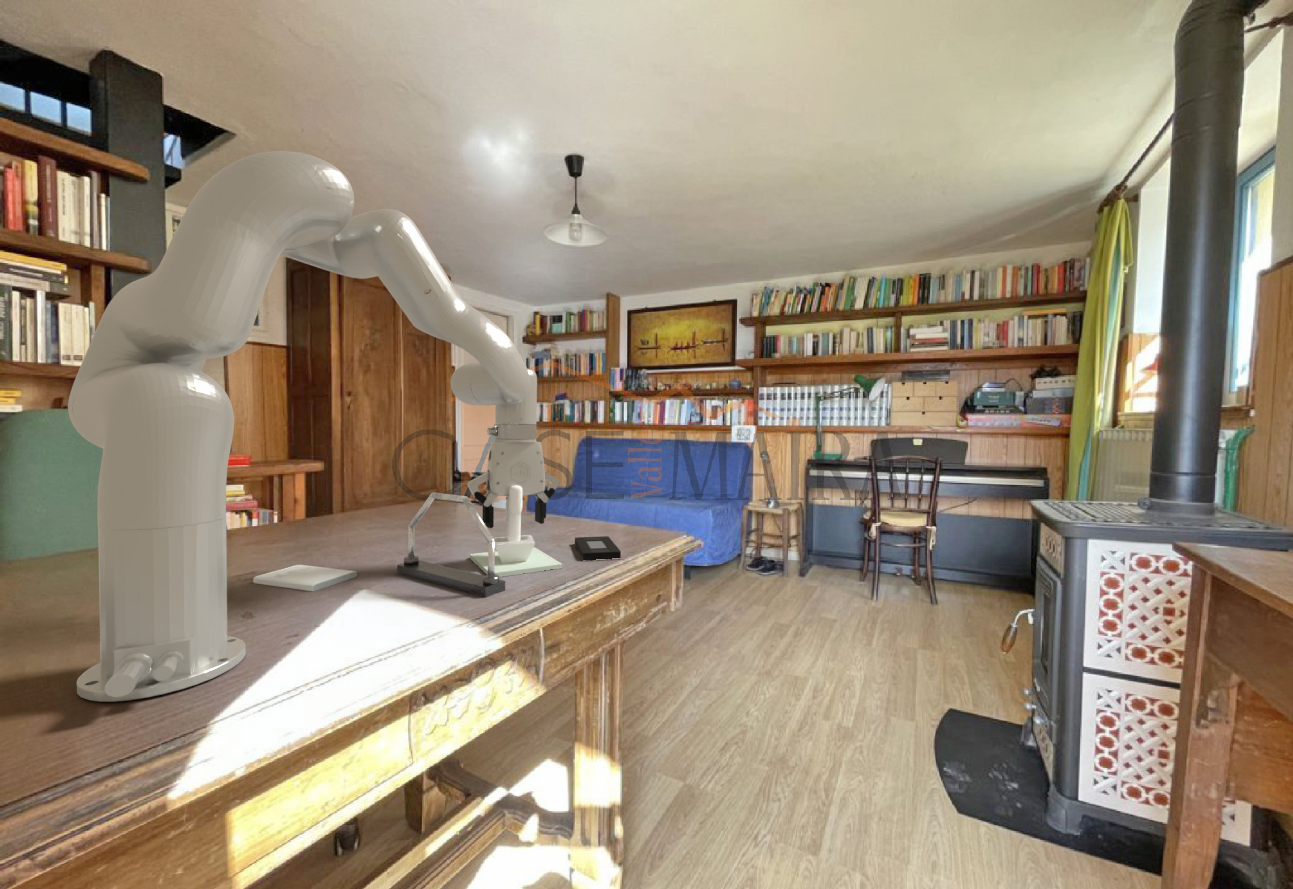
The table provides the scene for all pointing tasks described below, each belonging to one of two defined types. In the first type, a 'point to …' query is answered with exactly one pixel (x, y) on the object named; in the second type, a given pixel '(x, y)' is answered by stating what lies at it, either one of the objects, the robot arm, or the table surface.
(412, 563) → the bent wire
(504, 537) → the figurine
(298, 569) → the external hard drive
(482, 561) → the mat
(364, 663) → the table surface
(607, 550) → the vhs tape
